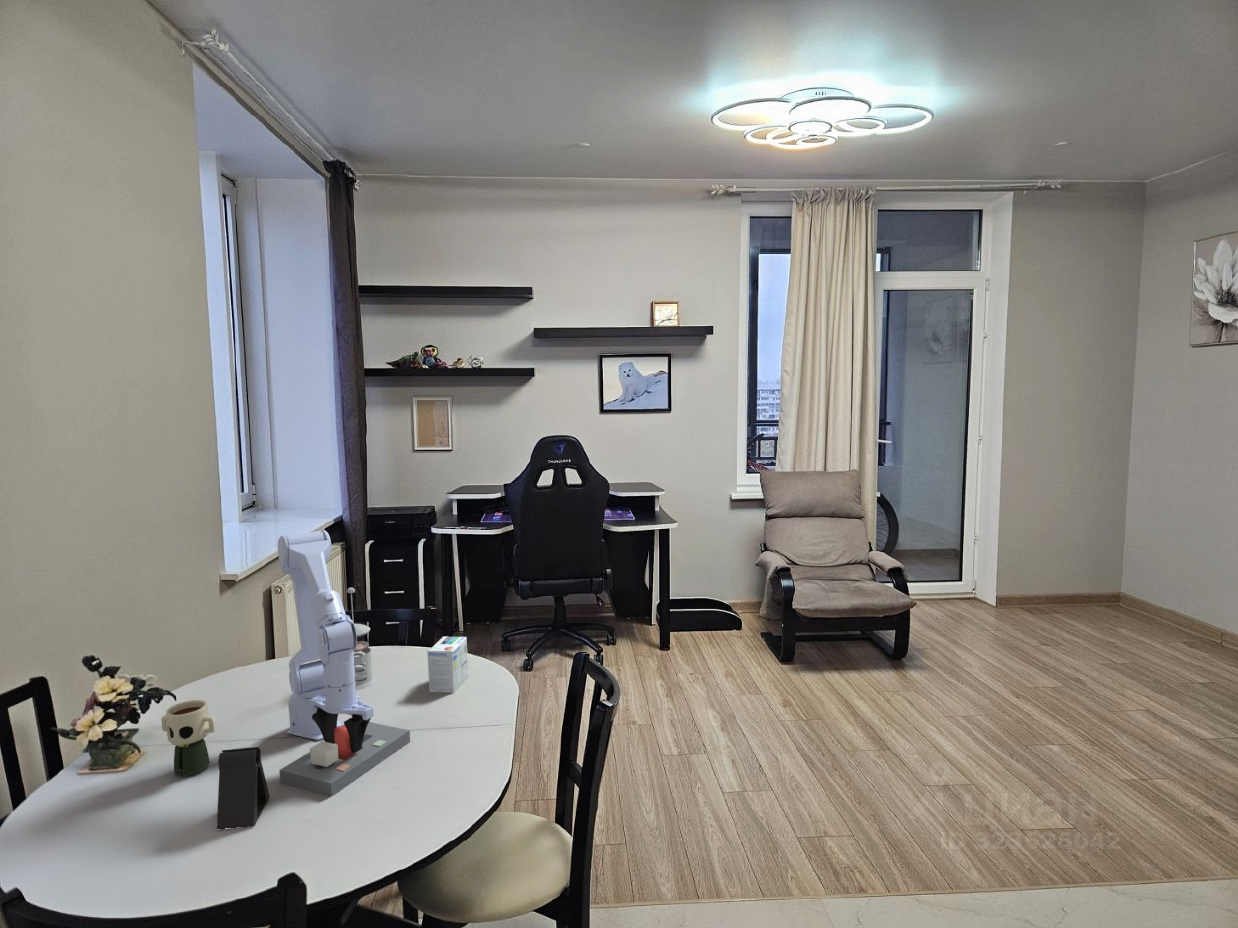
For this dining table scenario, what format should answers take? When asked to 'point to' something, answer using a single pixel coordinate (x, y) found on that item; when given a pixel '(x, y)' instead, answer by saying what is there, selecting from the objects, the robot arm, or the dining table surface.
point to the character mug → (189, 735)
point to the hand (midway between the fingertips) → (343, 747)
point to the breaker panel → (346, 762)
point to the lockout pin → (342, 742)
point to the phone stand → (241, 788)
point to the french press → (362, 656)
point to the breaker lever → (324, 753)
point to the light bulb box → (447, 664)
